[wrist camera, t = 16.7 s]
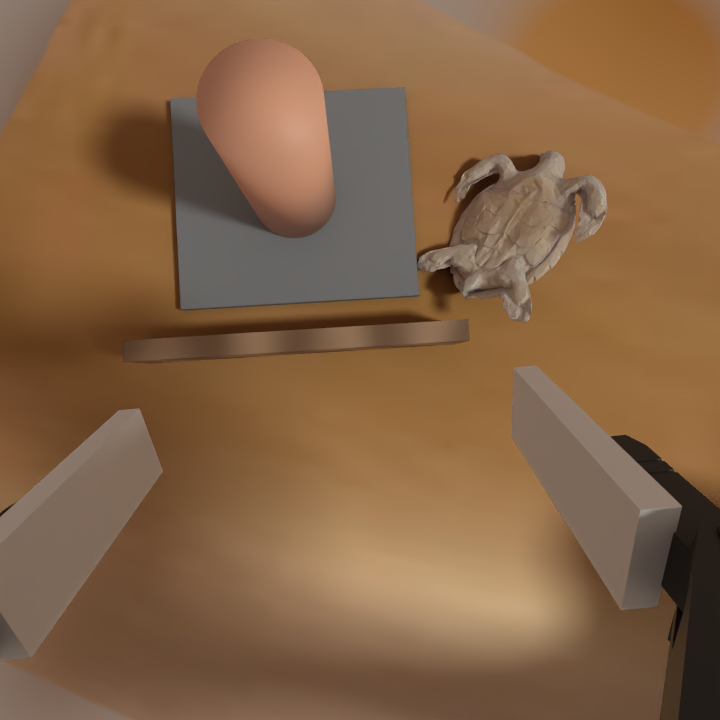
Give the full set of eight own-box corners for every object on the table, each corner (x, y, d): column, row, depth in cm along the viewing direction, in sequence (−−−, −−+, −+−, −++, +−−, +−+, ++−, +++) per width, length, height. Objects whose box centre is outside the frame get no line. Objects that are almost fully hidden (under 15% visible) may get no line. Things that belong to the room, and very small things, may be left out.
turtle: (495, 333, 38) (589, 331, 29) (408, 311, 34) (483, 302, 25) (523, 171, 38) (626, 117, 29) (439, 133, 35) (525, 59, 25)
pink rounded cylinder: (333, 154, 34) (320, 35, 22) (337, 236, 34) (327, 160, 22) (251, 158, 34) (193, 41, 22) (254, 240, 34) (198, 166, 22)
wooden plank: (454, 325, 34) (468, 319, 30) (455, 344, 34) (469, 340, 30) (149, 344, 34) (122, 340, 30) (150, 363, 34) (123, 361, 30)
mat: (403, 92, 35) (404, 87, 34) (417, 296, 34) (419, 295, 34) (173, 103, 35) (170, 98, 34) (183, 310, 34) (180, 309, 33)
